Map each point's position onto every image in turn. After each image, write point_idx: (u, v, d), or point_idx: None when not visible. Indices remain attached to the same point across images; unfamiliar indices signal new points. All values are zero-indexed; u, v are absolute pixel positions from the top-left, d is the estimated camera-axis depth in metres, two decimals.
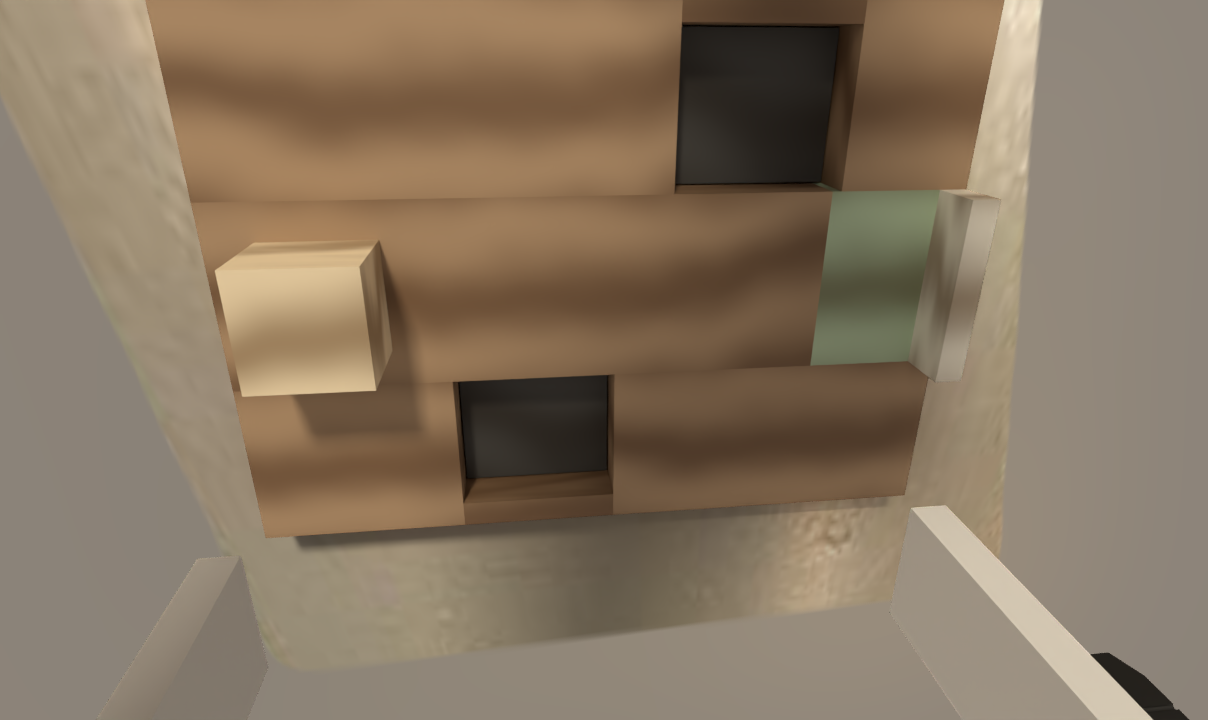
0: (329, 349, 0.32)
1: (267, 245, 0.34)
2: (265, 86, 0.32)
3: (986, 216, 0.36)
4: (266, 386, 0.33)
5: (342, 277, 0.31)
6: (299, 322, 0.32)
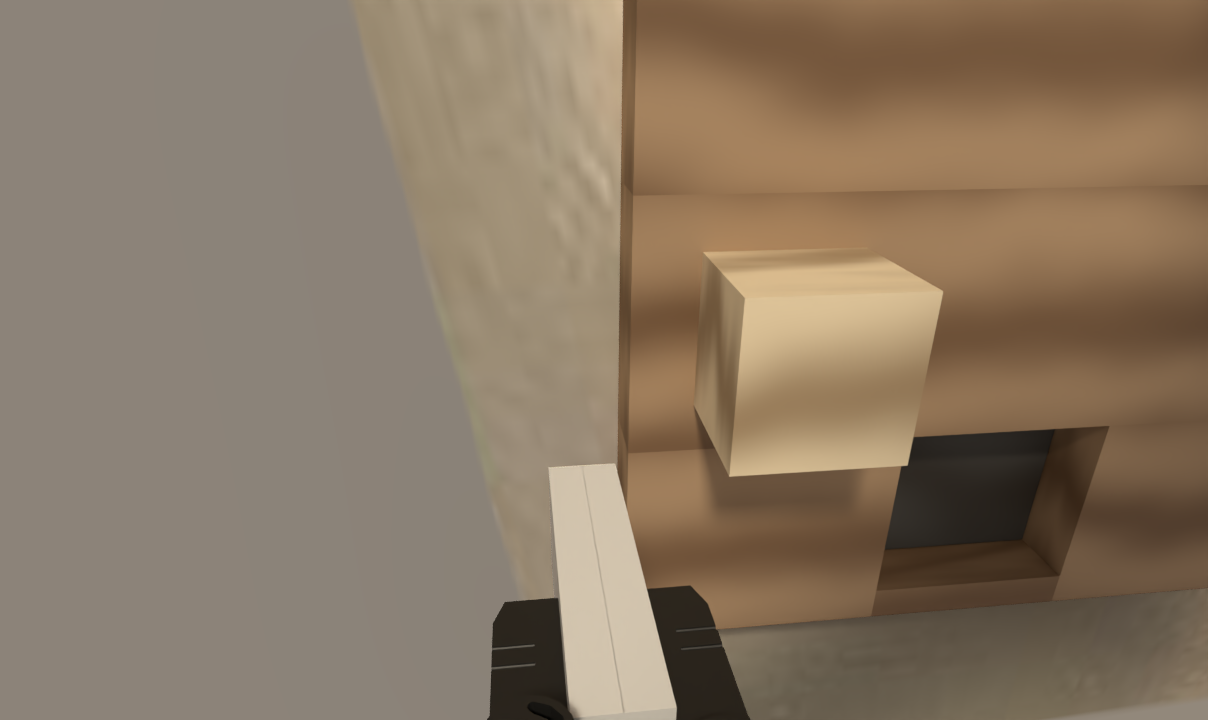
0: (865, 409, 0.22)
1: (731, 256, 0.24)
2: (773, 25, 0.22)
3: None
4: (765, 462, 0.23)
5: (915, 307, 0.21)
6: (837, 372, 0.22)
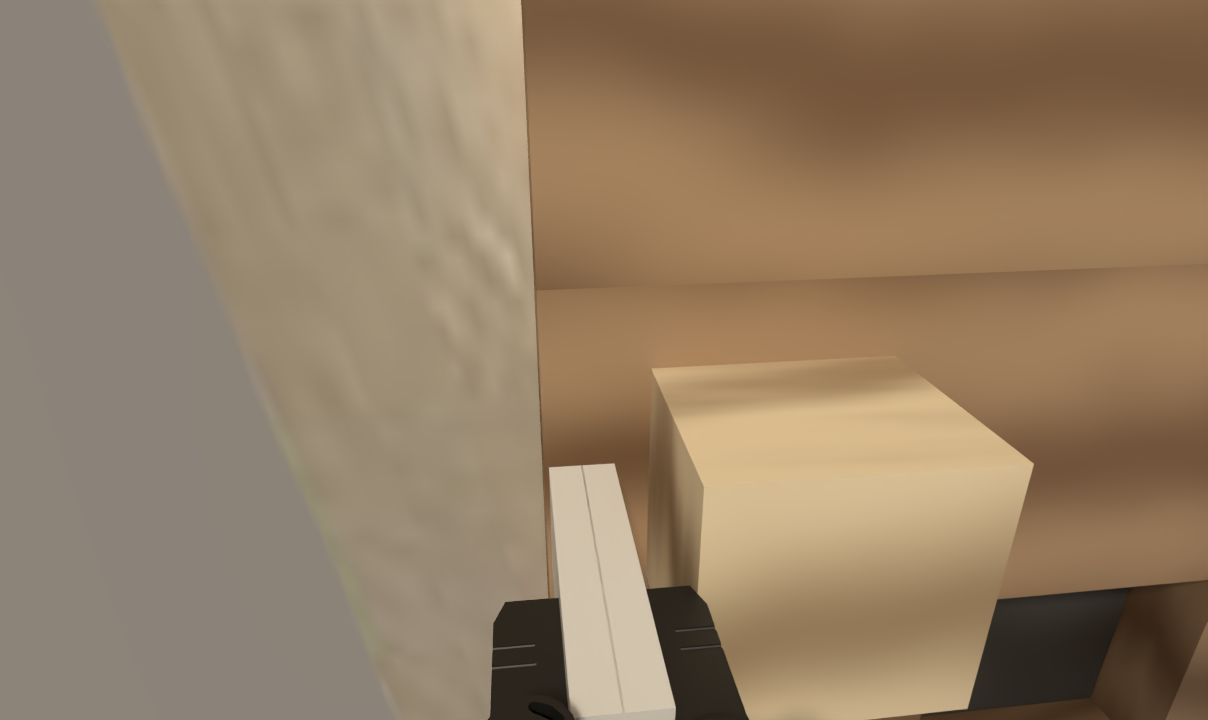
0: (902, 638, 0.14)
1: (692, 378, 0.16)
2: (745, 28, 0.14)
3: None
4: None
5: (987, 489, 0.13)
6: (858, 589, 0.13)
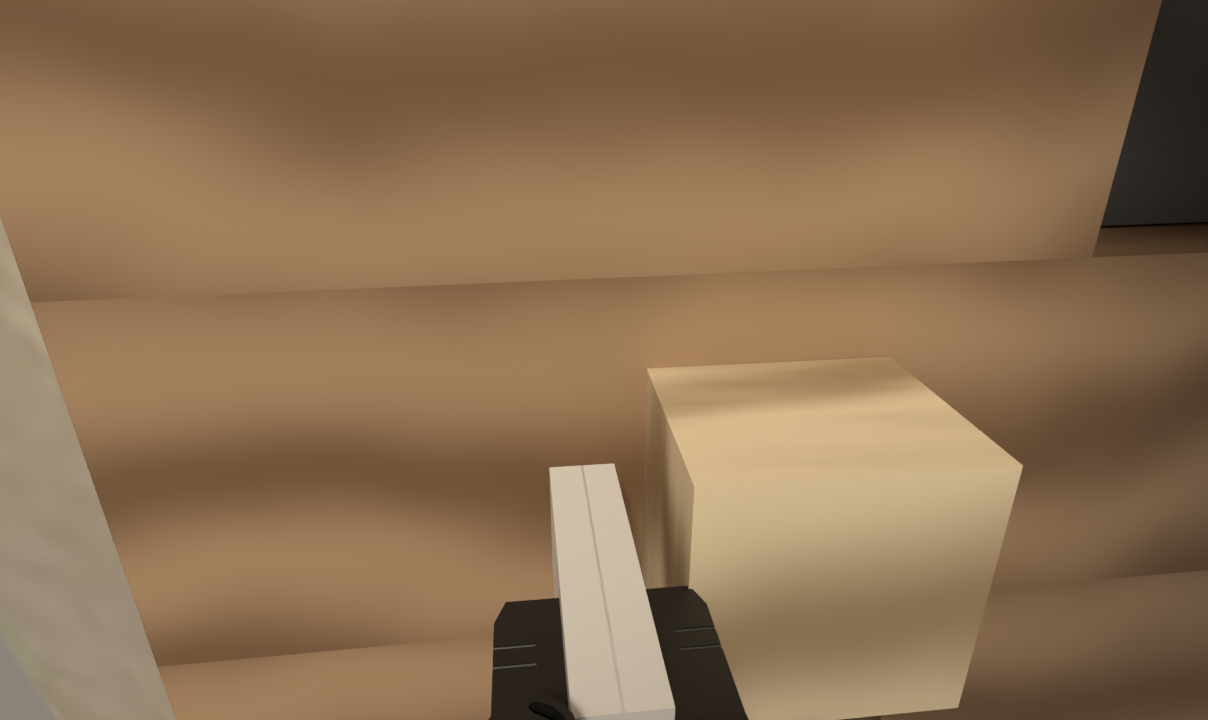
0: (893, 637, 0.14)
1: (687, 378, 0.16)
2: (191, 21, 0.13)
3: None
4: None
5: (976, 491, 0.13)
6: (848, 588, 0.13)
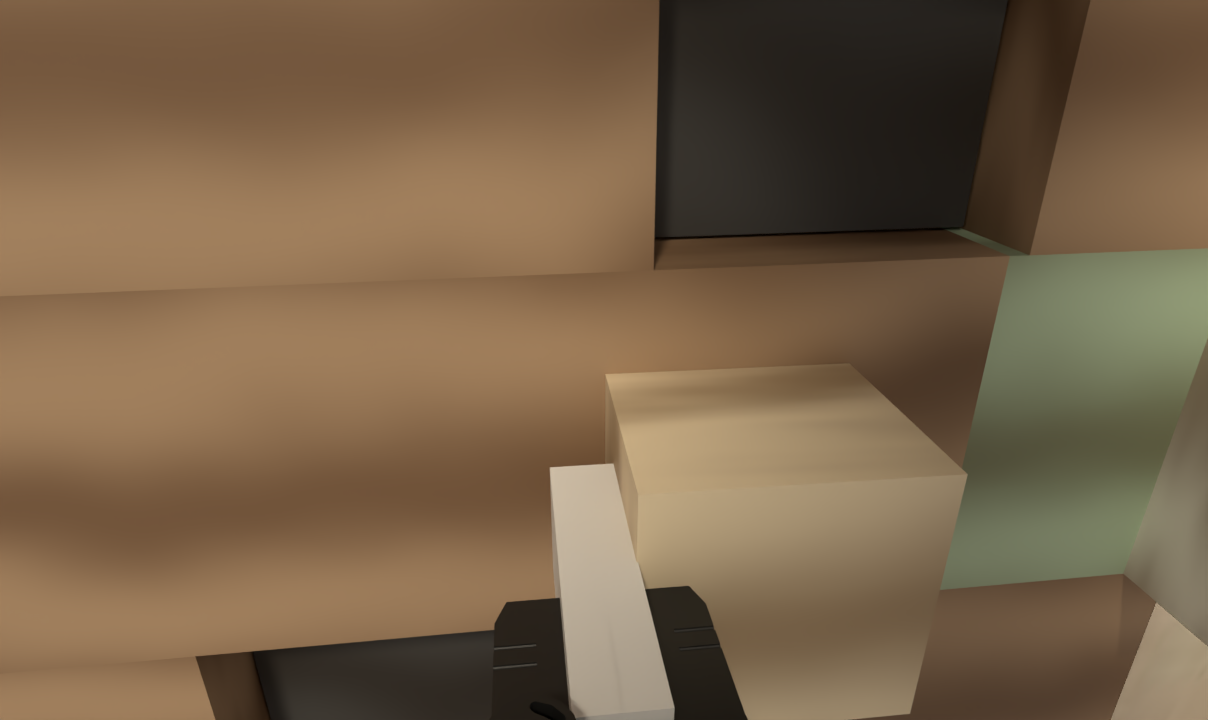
0: (842, 643, 0.14)
1: (645, 384, 0.16)
2: None
3: None
4: None
5: (921, 498, 0.13)
6: (796, 595, 0.13)
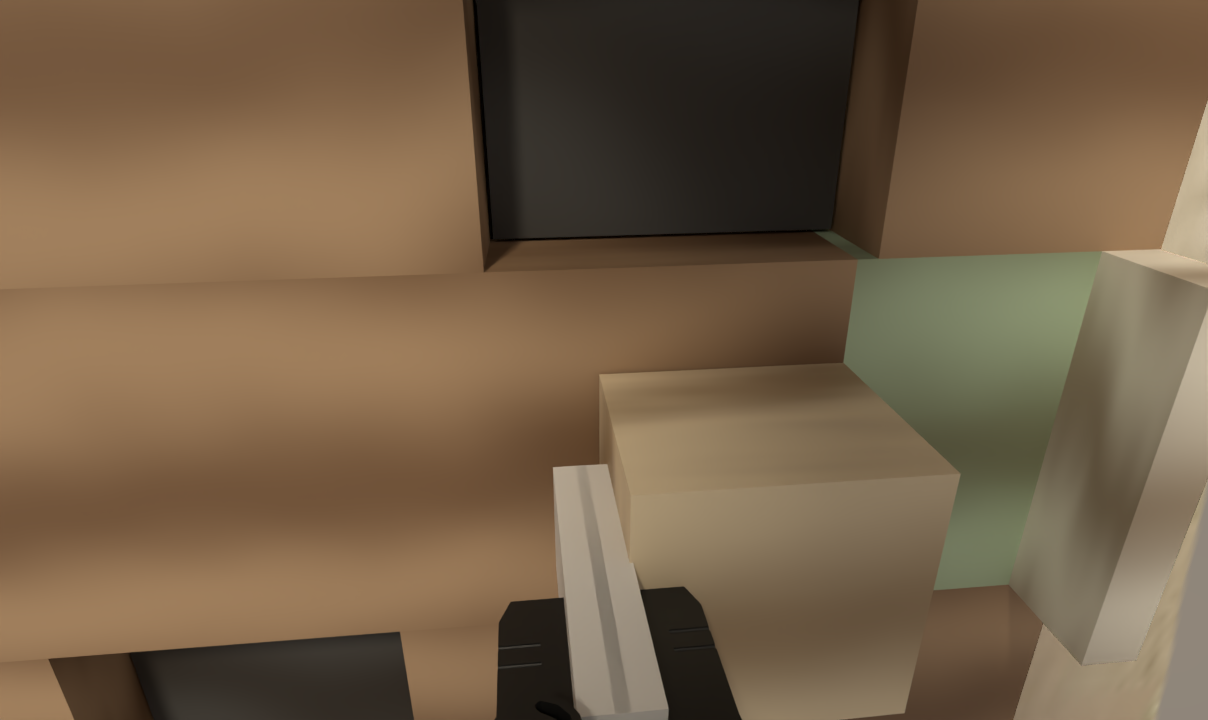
0: (836, 643, 0.14)
1: (638, 384, 0.16)
2: None
3: None
4: None
5: (914, 498, 0.13)
6: (790, 595, 0.13)
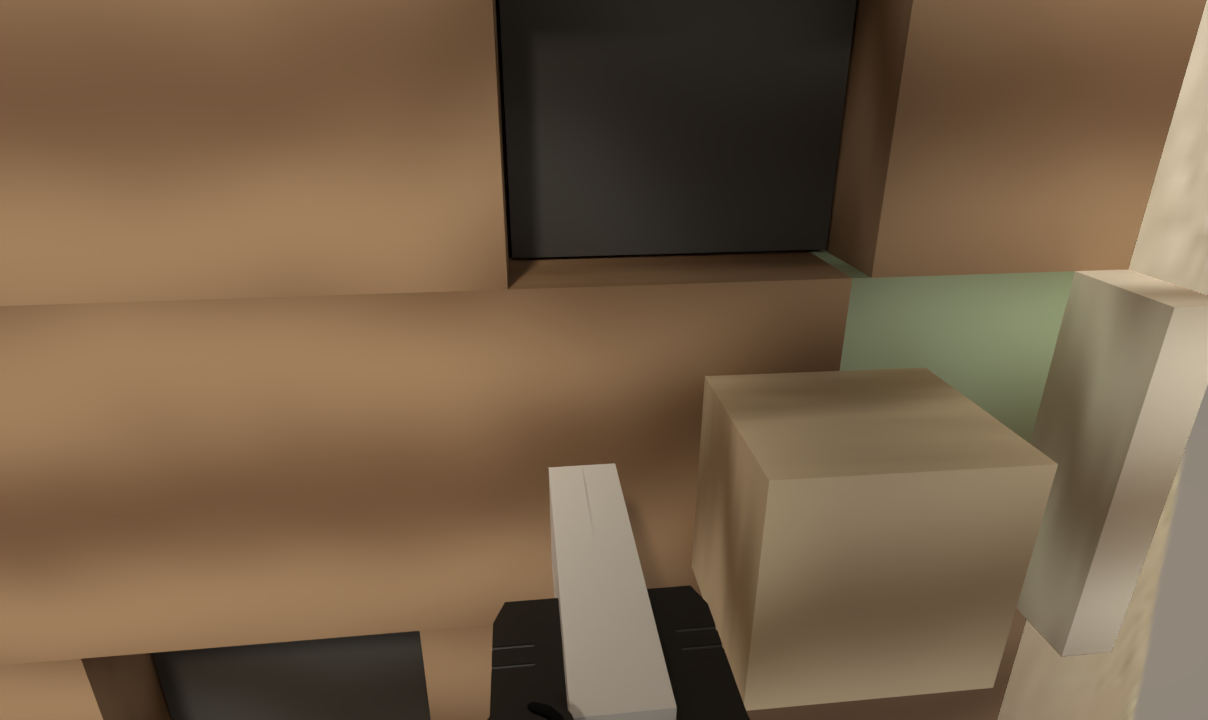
0: (937, 621, 0.15)
1: (744, 385, 0.18)
2: None
3: (1198, 341, 0.16)
4: (794, 691, 0.16)
5: (1016, 487, 0.14)
6: (899, 574, 0.15)
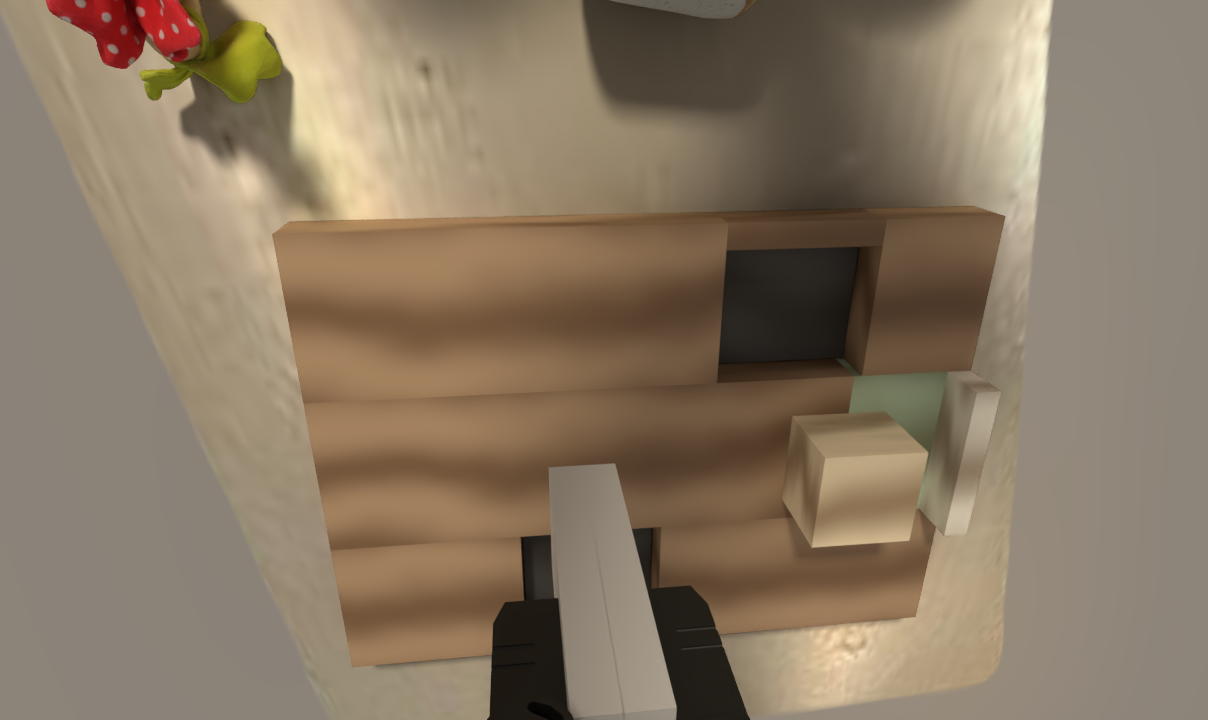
0: (886, 512, 0.41)
1: (809, 420, 0.43)
2: (371, 312, 0.38)
3: (988, 404, 0.41)
4: (831, 539, 0.41)
5: (913, 460, 0.40)
6: (871, 493, 0.40)
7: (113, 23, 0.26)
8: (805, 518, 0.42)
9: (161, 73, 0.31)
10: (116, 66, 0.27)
